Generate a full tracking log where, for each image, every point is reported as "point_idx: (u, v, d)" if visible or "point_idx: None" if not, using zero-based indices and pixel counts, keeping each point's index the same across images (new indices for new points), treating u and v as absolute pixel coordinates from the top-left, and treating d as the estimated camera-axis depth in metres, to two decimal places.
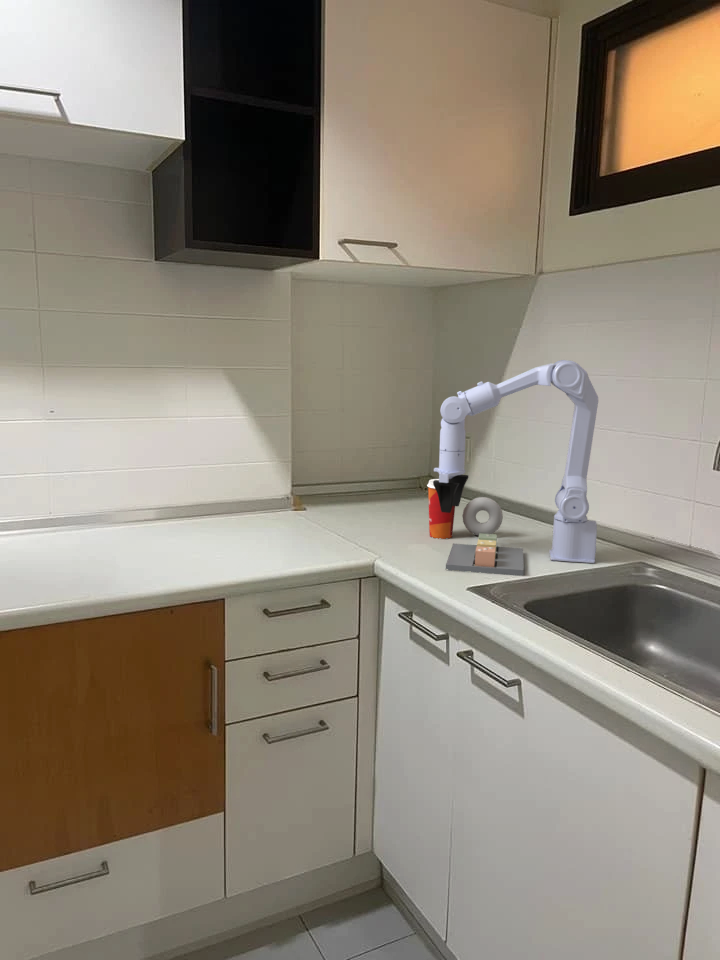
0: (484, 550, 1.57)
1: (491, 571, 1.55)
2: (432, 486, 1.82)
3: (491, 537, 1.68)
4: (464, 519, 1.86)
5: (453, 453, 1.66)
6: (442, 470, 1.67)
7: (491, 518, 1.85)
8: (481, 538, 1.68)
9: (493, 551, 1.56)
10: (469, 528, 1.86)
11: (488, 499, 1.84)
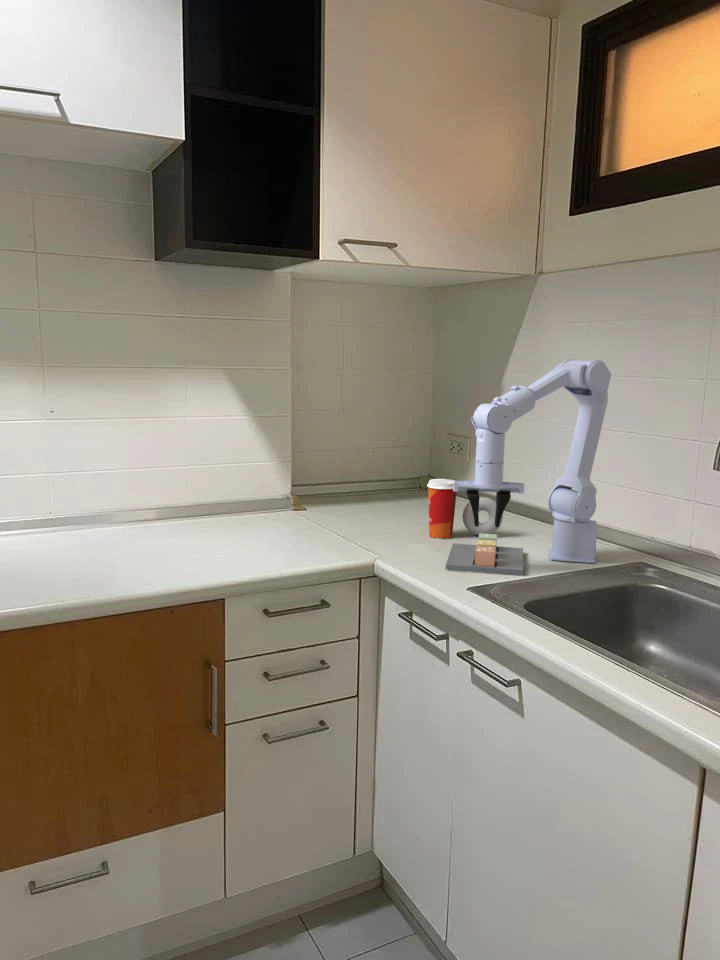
0: (484, 550, 1.57)
1: (491, 571, 1.55)
2: (432, 486, 1.82)
3: (491, 537, 1.68)
4: (464, 519, 1.86)
5: (476, 464, 1.54)
6: None
7: (491, 518, 1.85)
8: (481, 538, 1.68)
9: (493, 551, 1.56)
10: (469, 528, 1.86)
11: (488, 499, 1.84)
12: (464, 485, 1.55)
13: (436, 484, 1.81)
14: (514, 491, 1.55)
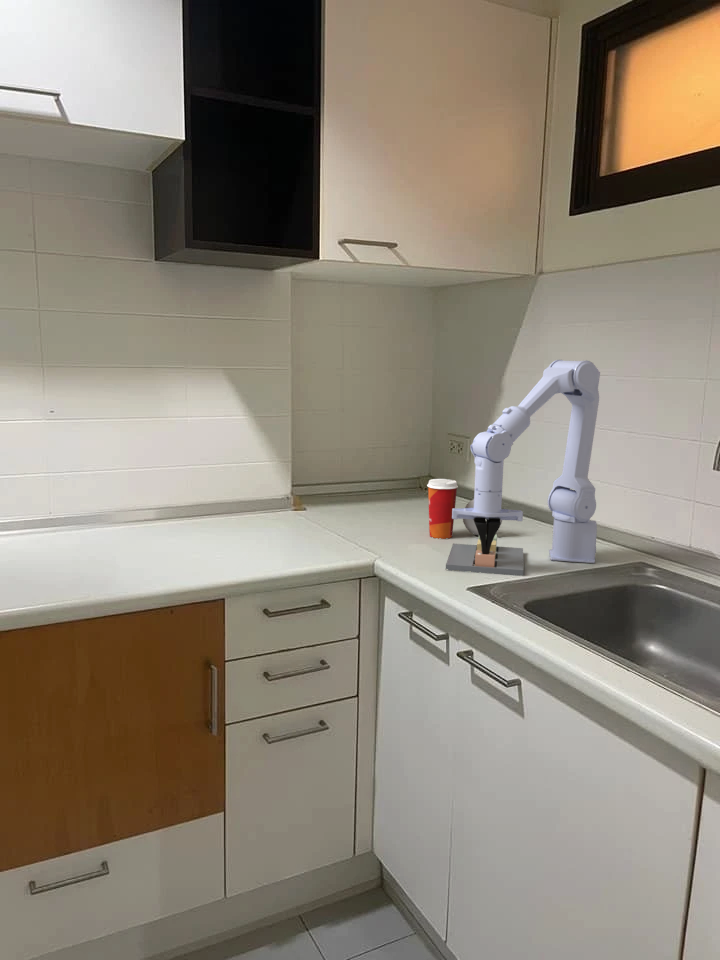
0: (484, 554, 1.57)
1: (491, 571, 1.55)
2: (432, 486, 1.82)
3: None
4: (464, 519, 1.86)
5: (475, 492, 1.55)
6: None
7: None
8: None
9: (493, 555, 1.56)
10: (469, 528, 1.86)
11: None
12: (463, 513, 1.56)
13: (436, 484, 1.81)
14: (512, 519, 1.56)
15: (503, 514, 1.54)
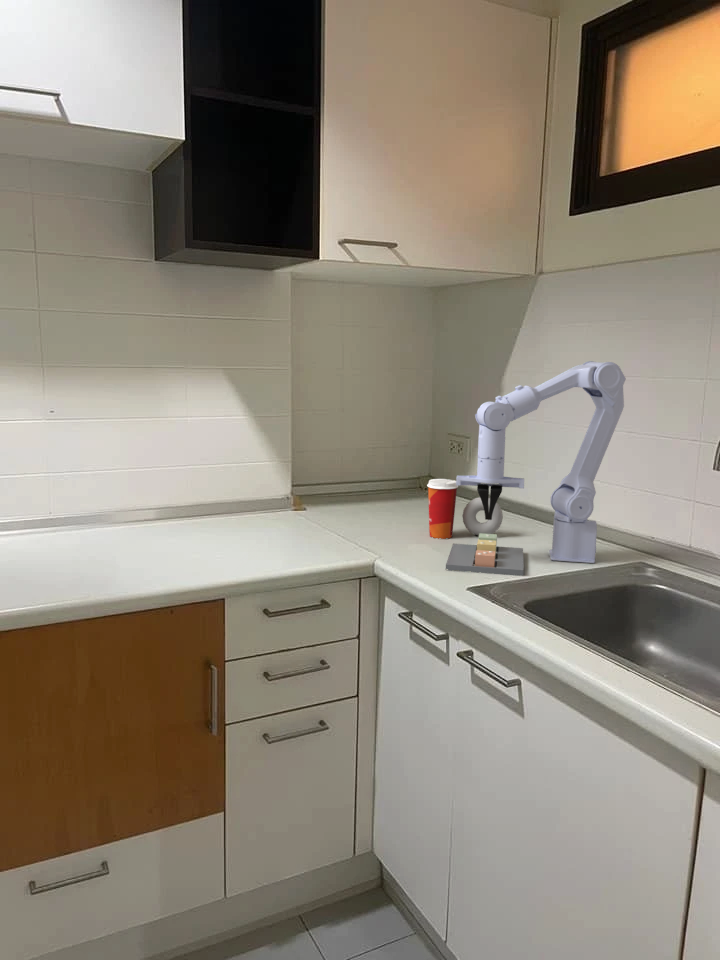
0: (484, 554, 1.57)
1: (491, 571, 1.55)
2: (432, 486, 1.82)
3: (491, 537, 1.68)
4: (464, 519, 1.86)
5: (478, 459, 1.61)
6: None
7: None
8: (481, 538, 1.68)
9: (493, 555, 1.56)
10: (469, 528, 1.86)
11: (488, 499, 1.84)
12: (466, 479, 1.62)
13: (436, 484, 1.81)
14: (515, 486, 1.61)
15: (504, 481, 1.60)
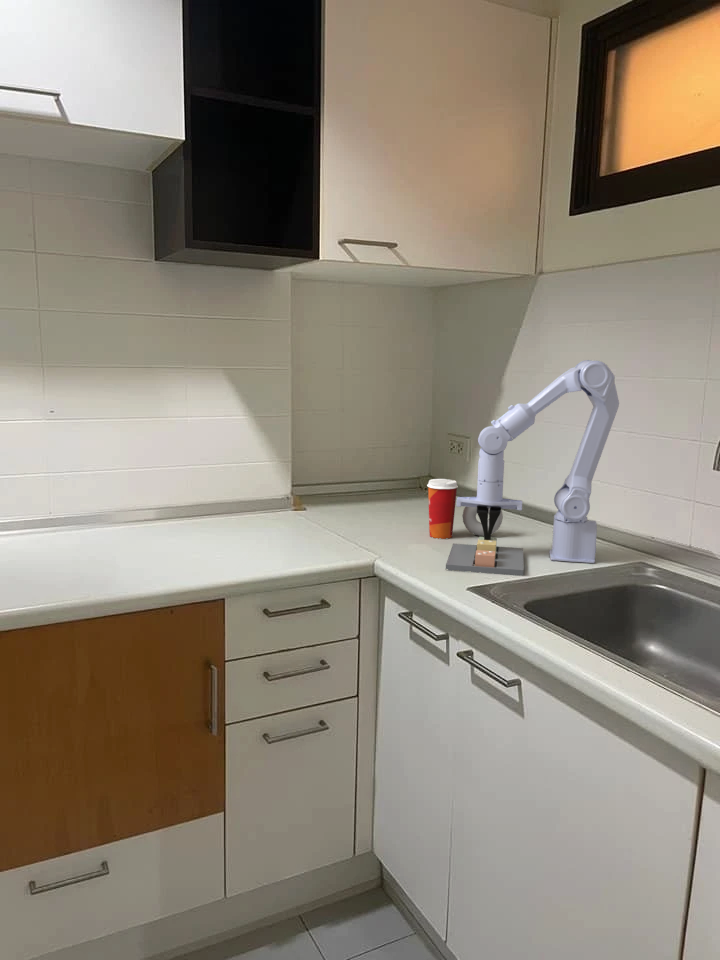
0: (484, 554, 1.57)
1: (491, 571, 1.55)
2: (432, 486, 1.82)
3: None
4: (464, 519, 1.86)
5: (478, 481, 1.67)
6: None
7: None
8: None
9: (493, 555, 1.56)
10: (469, 528, 1.86)
11: None
12: (466, 501, 1.68)
13: (436, 484, 1.81)
14: (513, 508, 1.67)
15: (503, 503, 1.65)
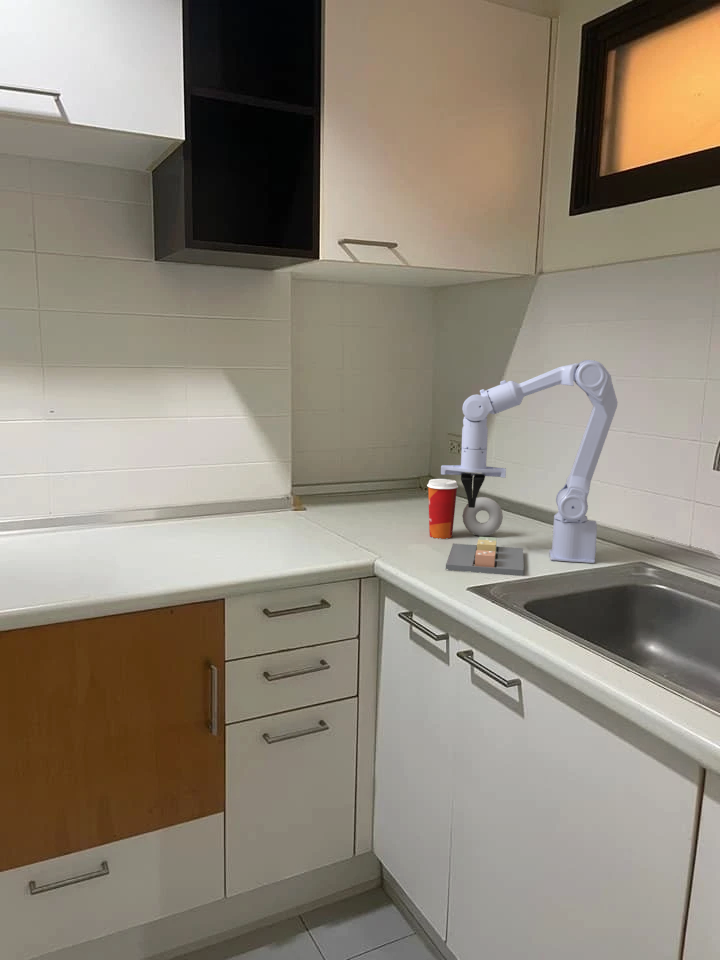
0: (484, 554, 1.57)
1: (491, 571, 1.55)
2: (432, 486, 1.82)
3: None
4: (464, 519, 1.86)
5: (462, 449, 1.69)
6: None
7: (491, 518, 1.85)
8: None
9: (493, 555, 1.56)
10: (469, 528, 1.86)
11: (488, 499, 1.84)
12: (450, 469, 1.69)
13: (436, 484, 1.81)
14: (497, 475, 1.68)
15: (486, 470, 1.67)
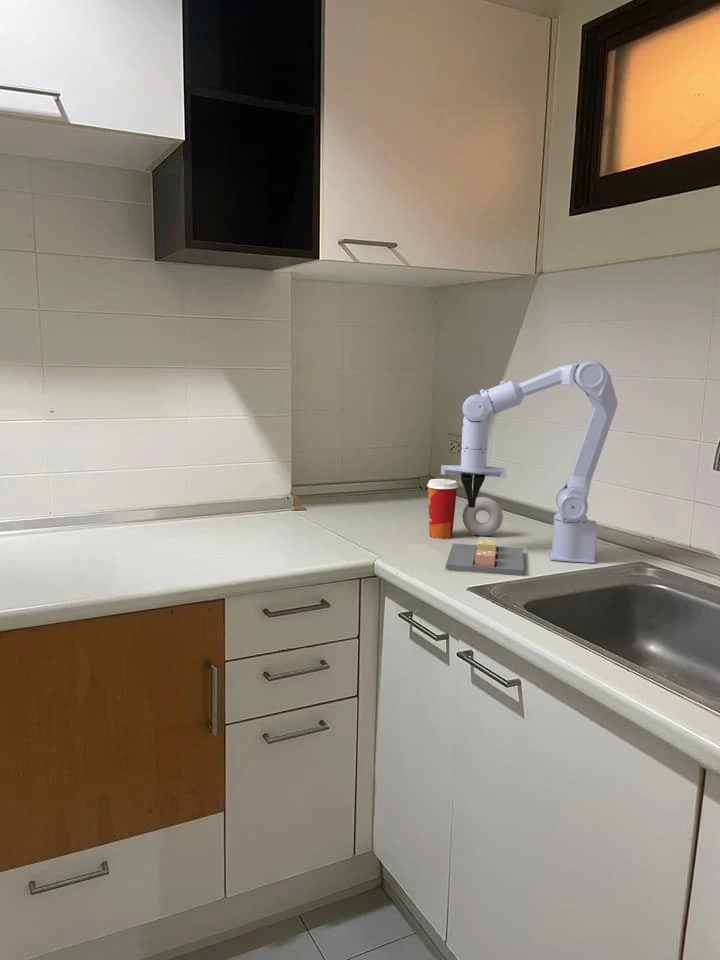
0: (484, 554, 1.57)
1: (491, 571, 1.55)
2: (432, 486, 1.82)
3: None
4: (464, 519, 1.86)
5: (462, 449, 1.69)
6: None
7: (491, 518, 1.85)
8: None
9: (493, 555, 1.56)
10: (469, 528, 1.86)
11: (488, 499, 1.84)
12: (450, 469, 1.69)
13: (436, 484, 1.81)
14: (497, 475, 1.68)
15: (486, 470, 1.67)
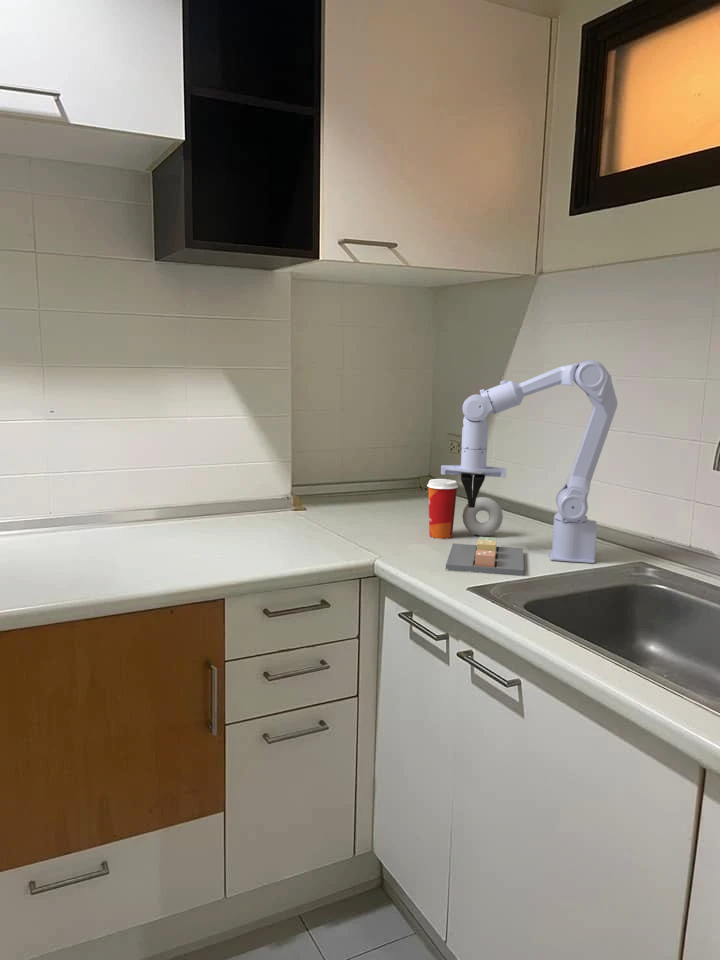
0: (484, 554, 1.57)
1: (491, 571, 1.55)
2: (432, 486, 1.82)
3: None
4: (464, 519, 1.86)
5: (462, 449, 1.69)
6: None
7: (491, 518, 1.85)
8: None
9: (493, 555, 1.56)
10: (469, 528, 1.86)
11: (488, 499, 1.84)
12: (450, 469, 1.69)
13: (436, 484, 1.81)
14: (497, 475, 1.68)
15: (486, 470, 1.67)
